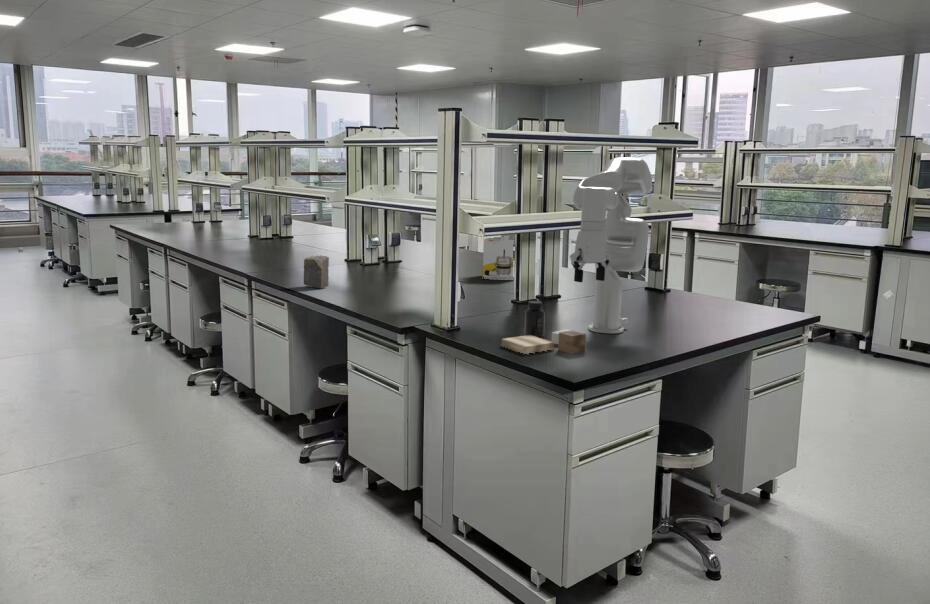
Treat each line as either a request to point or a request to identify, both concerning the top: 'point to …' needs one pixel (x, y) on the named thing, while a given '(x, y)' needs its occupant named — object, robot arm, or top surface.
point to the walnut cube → (572, 342)
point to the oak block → (527, 344)
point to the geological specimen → (316, 271)
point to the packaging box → (498, 257)
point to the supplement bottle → (534, 319)
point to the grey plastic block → (556, 335)
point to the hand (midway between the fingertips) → (589, 281)
